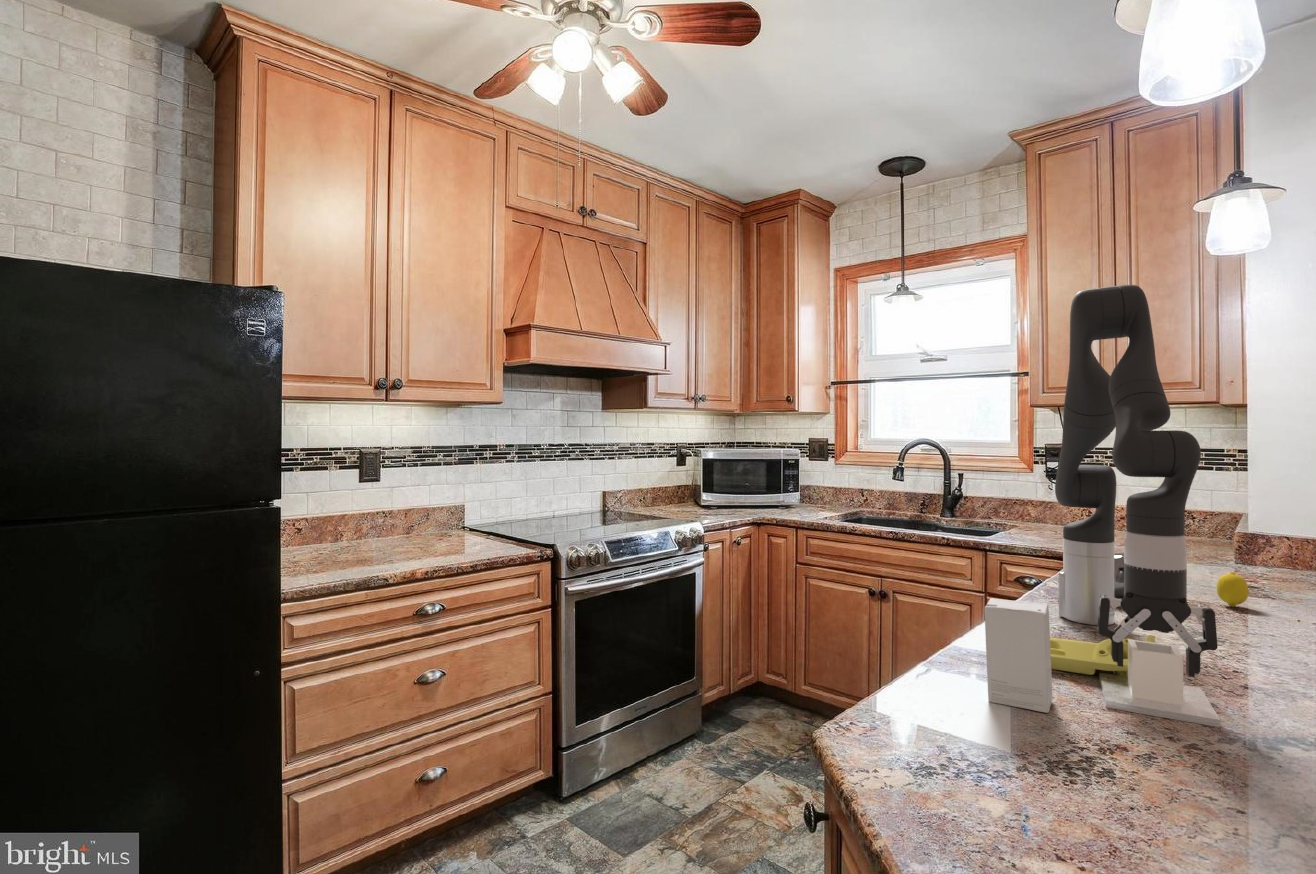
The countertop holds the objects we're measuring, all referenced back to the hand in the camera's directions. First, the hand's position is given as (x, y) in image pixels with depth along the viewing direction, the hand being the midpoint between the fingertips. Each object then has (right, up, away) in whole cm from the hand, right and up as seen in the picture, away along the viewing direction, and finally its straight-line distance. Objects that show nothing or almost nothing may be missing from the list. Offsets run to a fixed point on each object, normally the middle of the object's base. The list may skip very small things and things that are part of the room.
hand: (1154, 670), depth 99 cm
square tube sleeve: (0, -4, 0) cm, 4 cm away
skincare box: (-21, -5, 0) cm, 21 cm away
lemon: (+57, -4, +52) cm, 77 cm away
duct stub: (0, -5, 0) cm, 5 cm away
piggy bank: (+36, -4, +57) cm, 67 cm away
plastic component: (-2, -5, +14) cm, 15 cm away
